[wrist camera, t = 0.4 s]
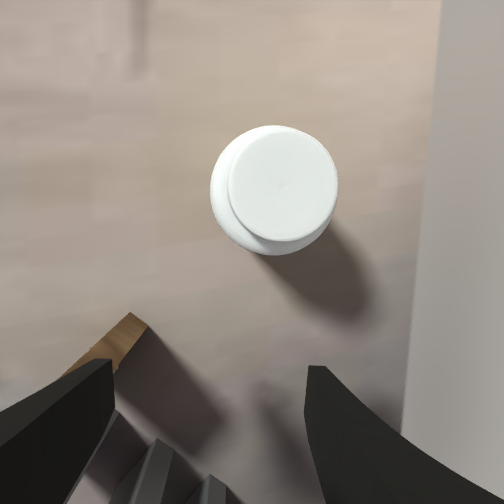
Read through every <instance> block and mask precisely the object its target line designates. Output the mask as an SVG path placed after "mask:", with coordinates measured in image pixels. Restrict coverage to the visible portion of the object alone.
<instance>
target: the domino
mask: <svg viewBox="0 0 504 504" xmlns="http://www.w3.org/2000/svg"><path fill="white" fill-rule="evenodd" d="M173 453H174V449H172V448H171V447H169V446H168V445H166V444H165V443H163V442H162V441H160V440H159V439H156V440H155V441H154V443H153V444H152V445H151V446H150V447H149V448H148V450H147V451H146V452H145V453H144V454H143V456H142V457H141V458H140V459H139V460H138V462H137V463H136V464H135V465H134V466H133V467H132V469H131V470H130V471H129V472H128V473H127V475H126V476H125V477H124V478H123V479H122V481H121V482H120V483H119V484H118V485H117V487H116V488H115V491H114V493H113V495H112V498H111V500H110V502H109V504H160V503H161V500H162V496H163V492H164V488H165V484H166V480H167V476H168V472H169V469H170V465H171V461H172V457H173Z"/></svg>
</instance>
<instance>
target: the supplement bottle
mask: <svg viewBox="0 0 504 504" xmlns="http://www.w3.org/2000/svg"><path fill="white" fill-rule="evenodd" d="M337 195H338V175H337V171H336V167H335V164H334V162H333V160H332V158H331V156H330V154H329V153H328V151H327V150H326V149H325V148H324V146H323V145H321V144H320V143H319V142H318V141H317V140H316V139H314V138H313V137H311V136H310V135H308V134H306V133H303V132H301V131H299V130H296V129H293V128H290V127H286V126H263V127H259V128H255V129H252V130H250V131H247V132H245V133H243V134H242V135H240V136H239V137H237V138H236V139H235V140H233V141H232V142H231V143H230V144H229V145H228V146H227V147H226V148H225V150H224V151H223V152H222V154H221V155H220V157H219V159H218V161H217V163H216V165H215V167H214V170H213V173H212V177H211V184H210V198H211V204H212V209H213V212H214V215H215V217H216V219H217V222H218V223H219V225H220V227H221V228H222V229H223V231H224V232H225V233H226V234H227V235H228V236H229V237H230V238H231V239H232V240H233V241H234V242H235V243H237V244H238V245H240V246H241V247H243V248H245V249H247V250H249V251H252V252H255V253H258V254H263V255H285V254H289V253H293V252H295V251H298V250H300V249H302V248H304V247H306V246H307V245H309V244H310V243H312V242H313V241H314V240H316V239H317V238H318V237H319V236H320V235H321V233H322V232H323V231H324V230H325V228H326V227H327V225H328V224H329V222H330V220H331V218H332V215H333V213H334V210H335V207H336V202H337Z"/></svg>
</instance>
